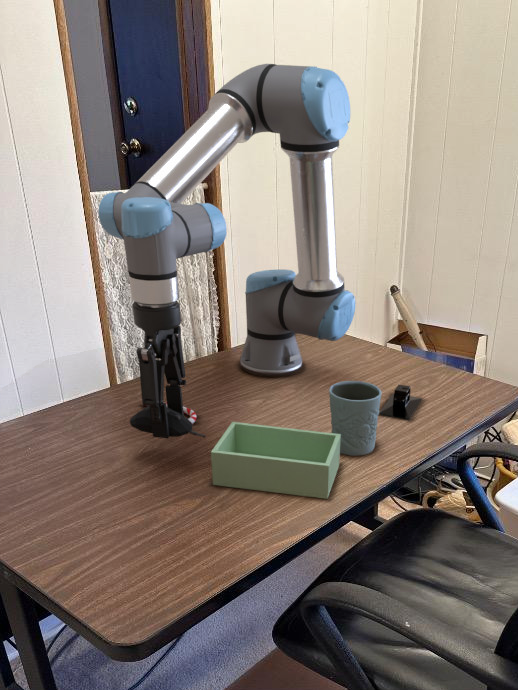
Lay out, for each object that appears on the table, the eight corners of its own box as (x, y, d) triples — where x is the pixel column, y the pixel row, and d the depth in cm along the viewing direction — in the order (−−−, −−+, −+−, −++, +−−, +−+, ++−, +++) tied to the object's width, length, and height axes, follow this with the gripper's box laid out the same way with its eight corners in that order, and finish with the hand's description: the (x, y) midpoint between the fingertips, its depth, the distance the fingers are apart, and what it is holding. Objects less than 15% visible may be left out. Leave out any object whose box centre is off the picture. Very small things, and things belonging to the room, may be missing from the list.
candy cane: (154, 394, 150) (205, 413, 144) (154, 400, 151) (206, 419, 144) (125, 405, 144) (178, 425, 138) (126, 411, 145) (178, 431, 139)
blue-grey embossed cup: (368, 461, 133) (372, 404, 127) (319, 451, 136) (321, 394, 129) (383, 440, 142) (387, 385, 136) (336, 430, 144) (339, 376, 138)
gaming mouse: (195, 445, 121) (194, 424, 119) (123, 428, 124) (120, 408, 122) (214, 430, 126) (212, 410, 124) (144, 414, 130) (141, 395, 127)
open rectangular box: (233, 452, 133) (232, 421, 129) (339, 465, 131) (340, 434, 128) (212, 485, 122) (210, 451, 118) (327, 499, 121) (329, 465, 117)
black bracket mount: (409, 420, 151) (411, 401, 149) (377, 414, 153) (378, 395, 150) (421, 399, 161) (423, 380, 159) (391, 394, 163) (393, 375, 160)
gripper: (156, 283, 122) (169, 403, 134) (106, 316, 105) (126, 450, 117) (198, 287, 121) (206, 407, 133) (154, 321, 104) (169, 455, 117)
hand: (169, 427), depth 125 cm, fingers closed on gaming mouse, 7 cm apart
